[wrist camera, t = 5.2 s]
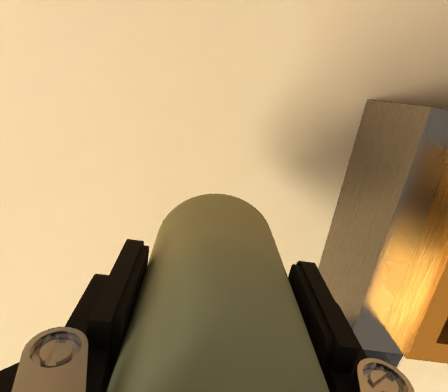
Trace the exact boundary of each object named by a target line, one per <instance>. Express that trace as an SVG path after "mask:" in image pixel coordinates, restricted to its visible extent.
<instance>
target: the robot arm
mask: <svg viewBox="0 0 448 392" xmlns="http://www.w3.org/2000/svg"><path fill="white" fill-rule="evenodd" d="M148 254H149V246H144V242H143V241H138V240H130V239H127V240H126V242H125V244H124V246H123V248H122V250H121V252H120V254H119V256H118V258H117V260H116V262H115V264H114V267H113V269H112V271H111V273H110V275H102V274H95V275H94V276H93V278H92V280H91V281H90V283H89V285H88V287H87V288H86V290H85V292H84V294H83V295H82V297H81V299H80V301H79V302H78V304H77V306H76V308H75V309H74V311H73V313H72V315H71V317H70V318H69V320H68V322H67V324H66V325H65V327H57V328H51V329H48V330H46V331H43V332H41V333H39V334H38V335H36V336H35V337H33V338H32V339H31V340H30V341H29V342H28V343H27V344H26V346H25V348H24V350H23V352H22V355H21V359H20V362H19V363H17V364H14V365H12V366H10V367H8V368H6V369H3V370H1V371H0V392H107V389H108V386H109V383H110V380H111V377H112V373H113V370H114V367H115V364H116V361H117V358H118V355H119V352H120V349H121V346H122V343H123V340H124V337H125V334H126V331H127V328H128V325H129V321H130V318H131V315H132V312H133V309H134V306H135V303H136V300H137V297H138V294H139V291H140V287H141V284H142V281H143V278H144V275H145V272H146V269H147V264H148ZM288 279H289V282H290V285H291V287H292V290H293V293H294V296H295V298H296V301H297V304H298V307H299V309H300V312H301V315H302V317H303V320H304V323H305V326H306V328H307V331H308V334H309V337H310V339H311V342H312V345H313V348H314V350H315V353H316V356H317V358H318V361H319V364H320V367H321V369H322V372H323V375H324V378H325V380H326V383H327V386H328V389H329V391H330V392H414V389H413V387H412V385H411V383H410V381H409V380H408V379H407V378H406V376H405V375H404V374H403V373H402V372H401V371H399V370H398V369H397V368H396V367H394V366H392V365H391V364H389V363H387V362H385V361H382V360H380V359H375V358H367V356H366V354H365V352H364V350H363V349H362V347H361V345H360V343H359V341H358V339H357V337H356V336H355V334H354V332H353V330H352V328H351V326H350V324H349V323H348V321H347V319H346V317H345V315H344V313H343V312H342V310H341V308H340V306H339V305H338V303H336V302H335V300H334V298H333V296H332V294H331V292H330V291H329V289H328V287H327V285H326V283H325V281H324V279H323V277H322V276H321V274H320V272H319V270H318V268H317V266H316V264H315V263H311V262H303V261H298V262H297V264H296V265H295V264H293V265H292V266H291V269H290V273H289V277H288Z"/></svg>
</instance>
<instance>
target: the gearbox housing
mask: <svg viewBox="0 0 448 392" xmlns="http://www.w3.org/2000/svg"><path fill="white" fill-rule="evenodd" d="M318 270H319V272H320V274H321V276H322V277H323V279H324V281H325V283H326V285H327V287H328V289H329V291H330V292H331V294H332V296H333V298H334V300H335V302H336V303H338V305H339V306H340V308H341V310H342V312H343V313H344V315H345V317H346V319H347V321H348V323H349V324H350V326H351V328H352V330H353V332H354V334H355V336H356V337H357V339H358V341H359V343H360V345H361V347H362V349H364V350H372V351H380V352H389V353H397V354H404V356H405V357H406V359H415V360H423V361H431V362H440V363H448V110H445V109H440V108H434V107H426V106H418V105H409V104H400V103H392V102H383V101H374V100H367V103H366V106H365V110H364V113H363V117H362V120H361V124H360V127H359V130H358V134H357V137H356V141H355V144H354V148H353V151H352V155H351V158H350V161H349V165H348V168H347V172H346V175H345V179H344V182H343V186H342V189H341V193H340V196H339V199H338V203H337V206H336V210H335V213H334V217H333V220H332V224H331V227H330V231H329V234H328V237H327V241H326V244H325V248H324V251H323V255H322V258H321V262H320V265H319V269H318Z"/></svg>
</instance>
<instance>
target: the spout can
mask: <svg viewBox="0 0 448 392" xmlns="http://www.w3.org/2000/svg"><path fill="white" fill-rule="evenodd" d="M107 392H330V391H329V389H328V386H327V383H326V380H325V378H324V375H323V372H322V369H321V367H320V364H319V361H318V358H317V356H316V353H315V350H314V348H313V345H312V342H311V339H310V337H309V334H308V331H307V328H306V326H305V323H304V320H303V317H302V315H301V312H300V309H299V307H298V304H297V301H296V298H295V296H294V293H293V290H292V287H291V285H290V282H289V279H288V277H287V274H286V271H285V268H284V266H283V263H282V260H281V257H280V255H279V252H278V249H277V246H276V244H275V241H274V238H273V236H272V233H271V230H270V228H269V225H268V223H267V221H266V220H265V218H264V217H263V216H262V214H261V213H260V212H259V211H258V210H257V209H256V208H254V207H253V206H252V205H250V204H249V203H247V202H246V201H244V200H242V199H239V198H236V197H234V196H230V195H225V194H206V195H200V196H197V197H194V198H191V199H189V200H186V201H184V202H183V203H181V204H179V205H178V206H177V207H176V208H174V209H173V210H172V211H171V212H170V213H169V214H168V215H167V217H166V218H165V219H164V221H163V223H162V225H161V226H160V229H159V232H158V235H157V238H156V241H155V244H154V247H153V250H152V253H151V256H150V259H149V262H148V266H147V269H146V272H145V275H144V278H143V281H142V284H141V287H140V291H139V294H138V297H137V300H136V303H135V306H134V309H133V312H132V315H131V318H130V321H129V325H128V328H127V331H126V334H125V337H124V340H123V343H122V346H121V349H120V352H119V355H118V358H117V361H116V364H115V367H114V370H113V373H112V377H111V380H110V383H109V386H108V389H107Z"/></svg>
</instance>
